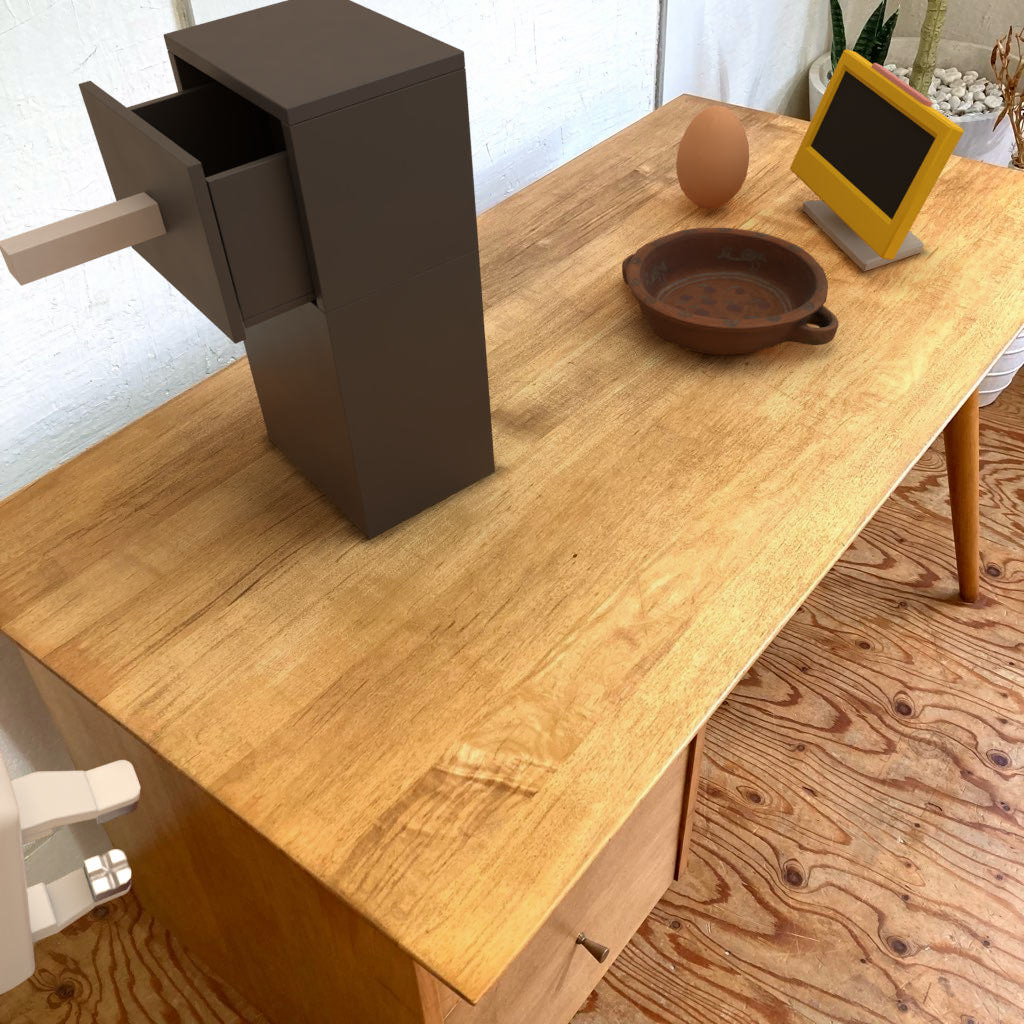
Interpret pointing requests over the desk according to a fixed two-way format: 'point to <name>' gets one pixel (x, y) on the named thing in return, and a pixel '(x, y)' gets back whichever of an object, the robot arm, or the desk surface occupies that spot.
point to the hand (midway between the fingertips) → (131, 828)
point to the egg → (713, 158)
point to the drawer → (188, 205)
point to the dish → (730, 291)
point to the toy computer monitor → (872, 161)
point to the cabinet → (366, 252)
